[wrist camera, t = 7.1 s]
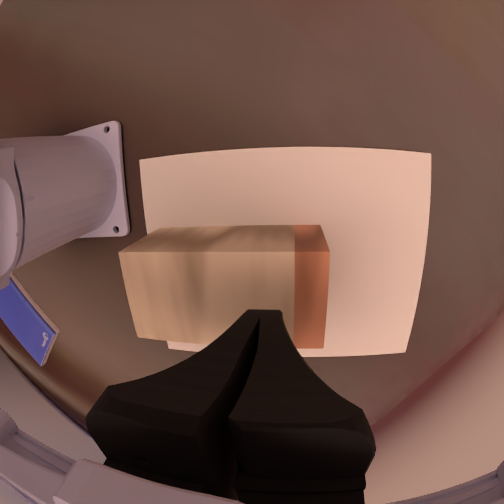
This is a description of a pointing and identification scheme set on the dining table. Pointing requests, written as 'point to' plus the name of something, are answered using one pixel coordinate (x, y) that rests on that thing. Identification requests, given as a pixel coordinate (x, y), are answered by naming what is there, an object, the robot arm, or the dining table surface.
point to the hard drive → (27, 321)
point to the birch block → (227, 280)
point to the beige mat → (316, 213)
